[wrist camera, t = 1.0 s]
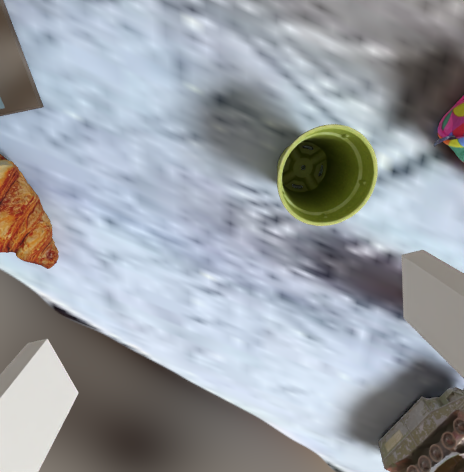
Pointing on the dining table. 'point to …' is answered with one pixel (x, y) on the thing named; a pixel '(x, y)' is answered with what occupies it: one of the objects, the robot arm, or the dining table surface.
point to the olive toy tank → (427, 436)
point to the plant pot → (327, 175)
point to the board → (14, 71)
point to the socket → (1, 104)
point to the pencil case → (453, 129)
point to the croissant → (23, 219)
